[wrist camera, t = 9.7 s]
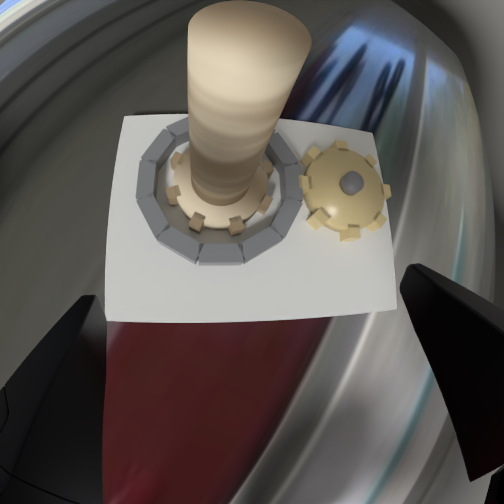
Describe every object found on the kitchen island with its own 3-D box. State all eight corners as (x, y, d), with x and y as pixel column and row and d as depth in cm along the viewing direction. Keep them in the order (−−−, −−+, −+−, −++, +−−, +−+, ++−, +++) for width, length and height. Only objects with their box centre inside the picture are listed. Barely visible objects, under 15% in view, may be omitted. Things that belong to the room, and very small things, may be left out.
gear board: (388, 309, 23) (415, 308, 19) (110, 319, 19) (92, 322, 16) (366, 139, 26) (385, 119, 22) (127, 124, 22) (118, 98, 18)
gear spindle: (243, 256, 20) (324, 162, 7) (148, 208, 20) (83, 65, 6) (285, 169, 22) (375, 33, 8) (199, 128, 22) (210, -30, 8)
